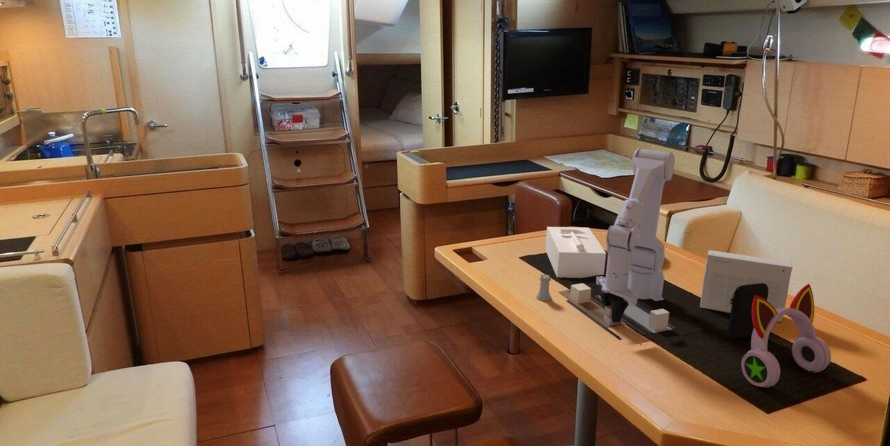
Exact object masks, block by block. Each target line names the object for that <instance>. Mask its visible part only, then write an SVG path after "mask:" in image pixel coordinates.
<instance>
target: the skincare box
mask: <svg viewBox="0 0 890 446" xmlns="http://www.w3.org/2000/svg"><path fill="white" fill-rule="evenodd" d="M792 271H793V263H792V261H785V260H779V259H773V258H772V259H771V258H766V257H759V256H751V255H745V254H738V253H731V252H724V251H717V250H711V249H709V250H708V252H707V257H706V263H705V270H704V274H703V275H704V276H703V280H702V281H703V282H702V288H701V296H700V304H699V307H700V308H701V309H705V310H706V309H708V310H713V311H719V312H724V313H728V314H730V313H731V307H732V304H730V300H731V298H732V295H733V293H734V292H735V290H736V288H738V287H739V286H741V285H748V284H757V283H765V284H766V285H767V286H768V290H769V292H768V298H767V301H768V302H769V303H770V304H771V305H772V306H773V307H782V308H786V303H787V299H788V293H789V288H790V282H791V281H790V280H791V275H792ZM783 321H784V315H783V316H782V317H780V318H779V319H778V320H777V322H779V323H783Z"/></svg>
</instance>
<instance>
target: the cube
mask: <svg viewBox="0 0 890 446" xmlns="http://www.w3.org/2000/svg"><path fill="white" fill-rule="evenodd" d="M570 290H571V292H570V299H572V300H573V301H575V302H576V303H577V304H580V303H585V302H590V300H591V299H590V296H591V294H592V288H591V287H589V286H588V285H586V284H585V283H576V284H571V285H570ZM591 297H592V296H591Z"/></svg>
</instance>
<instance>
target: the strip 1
mask: <svg viewBox="0 0 890 446" xmlns="http://www.w3.org/2000/svg"><path fill="white" fill-rule="evenodd" d="M570 292H571V289H567V290H562V291H557V293H558V294H560V295H561V296H562V297H564V298H566V299H567V300H569V301H571V302H572V303H573V304H575V305H576V306H578V307H579V308H580V309H582V310H583V311H585V312H586V313H587V314H589V315H590V316H591V317H593V318H594V319H596V320H597V321H598V322H600V323H601V324H602V325H604V326H605V327H607V328H608V329H610V328H615V327H621V326H625V325H627V324H626V323H625V322H623V321H622V318H623V317H622V318H621V321H620V322H616V323H613V322H612V306H611V305H609V306H605V310H604V308H603V307H601V306H600V305H599V304H597V303H596V302H594V301H593V300H591V299H590V302H585V303H580V304H577V303H576V302H575V301H573V300H572V299H570Z"/></svg>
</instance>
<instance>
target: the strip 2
mask: <svg viewBox="0 0 890 446" xmlns="http://www.w3.org/2000/svg"><path fill="white" fill-rule="evenodd" d="M598 296H599V297H600V295H598ZM600 298H601V297H600ZM649 311H650V314H649V313H647V312H645V311H644V310H642V309H641V308H639V307H637V306H636V305H628V307H627V308H626V310H625V311H624V314H626V315H627V316H629V317H630V318H632V319H633V320H635V321H636V322H638V323H639V324H641V325H642V326H644V327H645V328H647V329H648V330H650V331H651V332H653V333H652V334H655V333H661V332H665V331H672V328H671V327H669V326H668V323H669V317H670V312H669V311H668V310H666V309H664V308H659V309H655V310H654V309H653V310H649Z"/></svg>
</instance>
